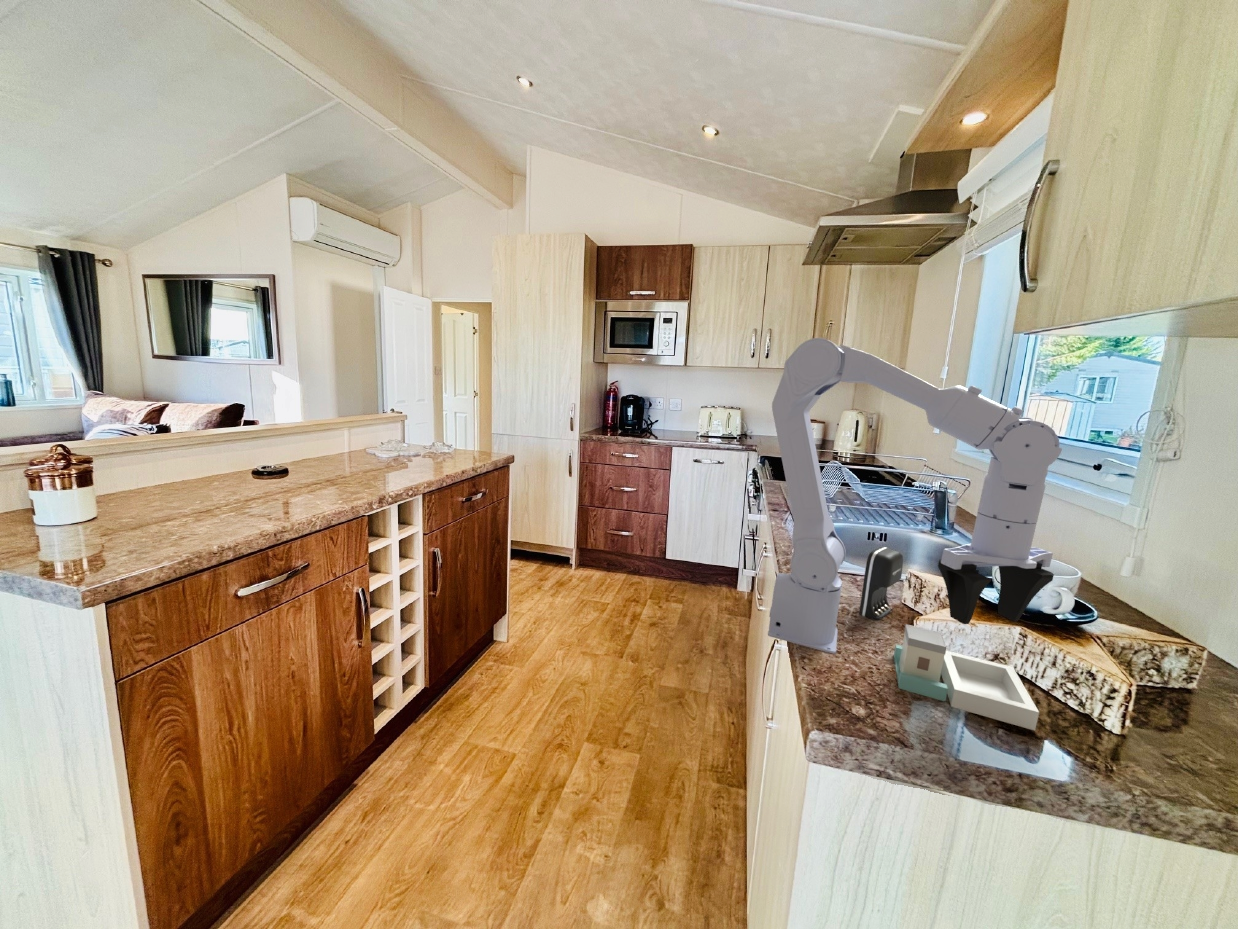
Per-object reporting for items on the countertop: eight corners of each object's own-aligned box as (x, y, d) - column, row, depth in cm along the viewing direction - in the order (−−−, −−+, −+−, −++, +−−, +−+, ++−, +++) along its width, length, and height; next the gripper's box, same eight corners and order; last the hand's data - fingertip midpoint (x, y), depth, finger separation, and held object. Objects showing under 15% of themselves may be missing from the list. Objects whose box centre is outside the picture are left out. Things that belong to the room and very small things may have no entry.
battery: (881, 625, 77) (892, 559, 75) (857, 616, 80) (867, 551, 78) (897, 613, 82) (908, 550, 80) (874, 605, 85) (883, 544, 83)
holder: (944, 703, 58) (947, 688, 58) (898, 690, 60) (900, 675, 60) (934, 667, 66) (936, 654, 66) (893, 657, 68) (895, 644, 68)
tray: (950, 708, 57) (954, 689, 57) (937, 666, 66) (941, 649, 66) (1034, 732, 54) (1039, 712, 54) (1009, 684, 63) (1012, 667, 62)
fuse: (901, 679, 62) (908, 638, 61) (898, 664, 66) (905, 624, 65) (938, 690, 60) (946, 647, 59) (933, 673, 64) (941, 632, 63)
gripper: (989, 527, 53) (965, 638, 55) (1089, 527, 56) (1062, 632, 58) (935, 509, 60) (916, 609, 62) (1027, 510, 63) (1006, 605, 65)
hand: (983, 619), depth 61 cm, fingers open, 7 cm apart
